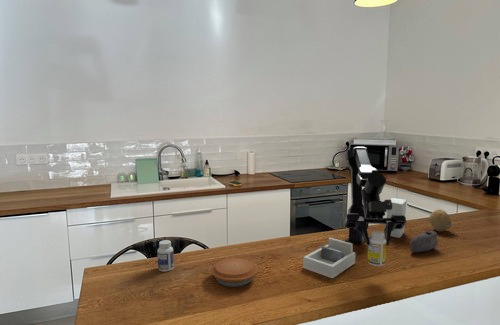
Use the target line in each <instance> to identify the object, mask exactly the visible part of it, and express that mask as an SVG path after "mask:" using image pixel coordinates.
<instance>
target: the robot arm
mask: <svg viewBox="0 0 500 325" xmlns="http://www.w3.org/2000/svg"><path fill="white" fill-rule="evenodd" d="M344 154H345V155H344V157H345V161H346V166H347V167H348V168H349V170H350V188H351V189H350V190H351V191H350V192H351V193H350V194H351V196H350V197H351V198H350V199H351V205H350V206H349V208H348V210H347V214H346V216H345V218H344V227H345V228H346V229H347V230H348V238H346V239H345V241H344V242H348V243H352V244H353V245H358V246H359V245H362V244H363V243H366V245H367V247H368V246H369V245H370V243H369V233H368V229H369V224H371V225H373V224H374V225H375V224H376V225H377V224H379V225H384V226H385V227H384V230H383V233H384V238H385V239H386V241H387V243H386V247H389V244H390V240H391V237H392V236H391V232H392V231H394V229H402V228H403V227H404V228H405V225H406V223H407V218H406V215H405V216H404V215H400V214H392V216H391V218H387V217H384V216H386V213H387V210H391V209H392V201H391V200H390V199H385V200H384V201H382V200H381V197H380V194H381V193H382V192H383V190H384V187H385V186H386V182H387V179H386V177H385V176H384V175H383V174H382V173H380V172H379V169H377V168H375V167H373V166H372V164H371V161H370V158H369V155H368V154H369V152H368V148H367V147H365V146H355V147H352V148H350V149H347V150H346V151H345V153H344Z"/></svg>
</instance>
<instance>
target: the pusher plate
mask: <svg viewBox="0 0 500 325" xmlns="http://www.w3.org/2000/svg"><path fill="white" fill-rule="evenodd" d="M321 247H322V248H321ZM321 247H320V248H321V258H324V259H327V260H330V261H333V262H337V261H338V260H340V259H342V258H343V257H344V252H342V251H339V250H336V249H332V248H329V247H326V246H325V245H322V246H321Z"/></svg>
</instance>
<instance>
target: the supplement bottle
mask: <svg viewBox="0 0 500 325" xmlns="http://www.w3.org/2000/svg"><path fill="white" fill-rule="evenodd" d="M368 237H369V236H368ZM369 243H370V245H369V246H368V245H367V263H368V264H370V265H371V266H373V267H374V266H375V267H382V266H385V264H386V258H387V245H386V243H387V241H386V239H385V233H384V231H379V230H372V231H371V233H370V237H369Z"/></svg>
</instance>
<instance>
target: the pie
mask: <svg viewBox="0 0 500 325" xmlns="http://www.w3.org/2000/svg"><path fill="white" fill-rule="evenodd" d="M258 271H259V268H258V266H257V264H255V263H254V262H253V261H251V260H247V259H244V258H239V257H238V258H237V257H236V258H235V257H231V258H226V259H222V260H220V261H218V262H216V263H214V264H213V265H212V266H211V268H210V272H211V275H212V276H213V277H214V278H215V280H216V281H217V282H218V283H219V285H222V286H225V287H227V288H228V287H229V288H238V287H243V286H245V285H248V284H249V283H250V282H251V281H252V279H253V278H254V277H255V275H257V273H258Z"/></svg>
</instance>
